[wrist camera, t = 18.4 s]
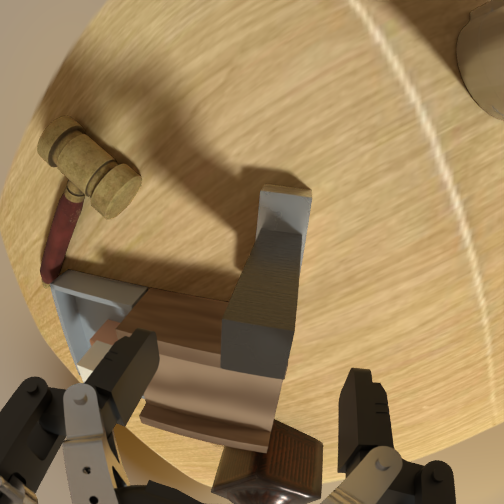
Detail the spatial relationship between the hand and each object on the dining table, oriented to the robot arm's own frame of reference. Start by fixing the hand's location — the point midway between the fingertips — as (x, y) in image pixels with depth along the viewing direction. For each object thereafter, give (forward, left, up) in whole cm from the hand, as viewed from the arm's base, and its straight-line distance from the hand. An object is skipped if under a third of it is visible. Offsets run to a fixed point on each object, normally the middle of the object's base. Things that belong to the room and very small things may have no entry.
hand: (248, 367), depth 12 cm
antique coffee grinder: (+32, +5, -15) cm, 36 cm away
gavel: (+2, -22, -15) cm, 27 cm away
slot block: (+14, -5, -15) cm, 21 cm away
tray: (+14, -18, -15) cm, 27 cm away
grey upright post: (0, 0, -15) cm, 15 cm away
